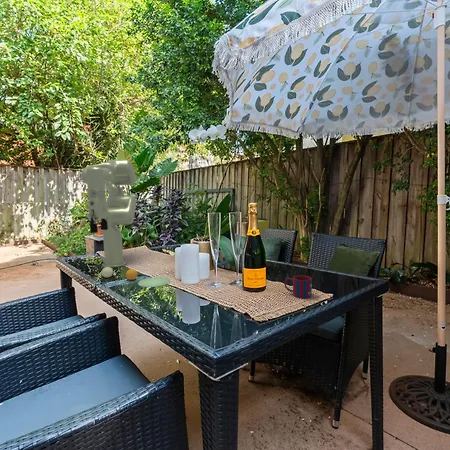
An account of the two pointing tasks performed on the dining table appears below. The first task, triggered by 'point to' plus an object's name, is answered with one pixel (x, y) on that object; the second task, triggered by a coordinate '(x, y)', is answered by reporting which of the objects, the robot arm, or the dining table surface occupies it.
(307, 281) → the mug
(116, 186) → the robot arm
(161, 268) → the dining table surface
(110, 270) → the ivory ball
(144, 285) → the mint mark
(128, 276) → the orange ball
